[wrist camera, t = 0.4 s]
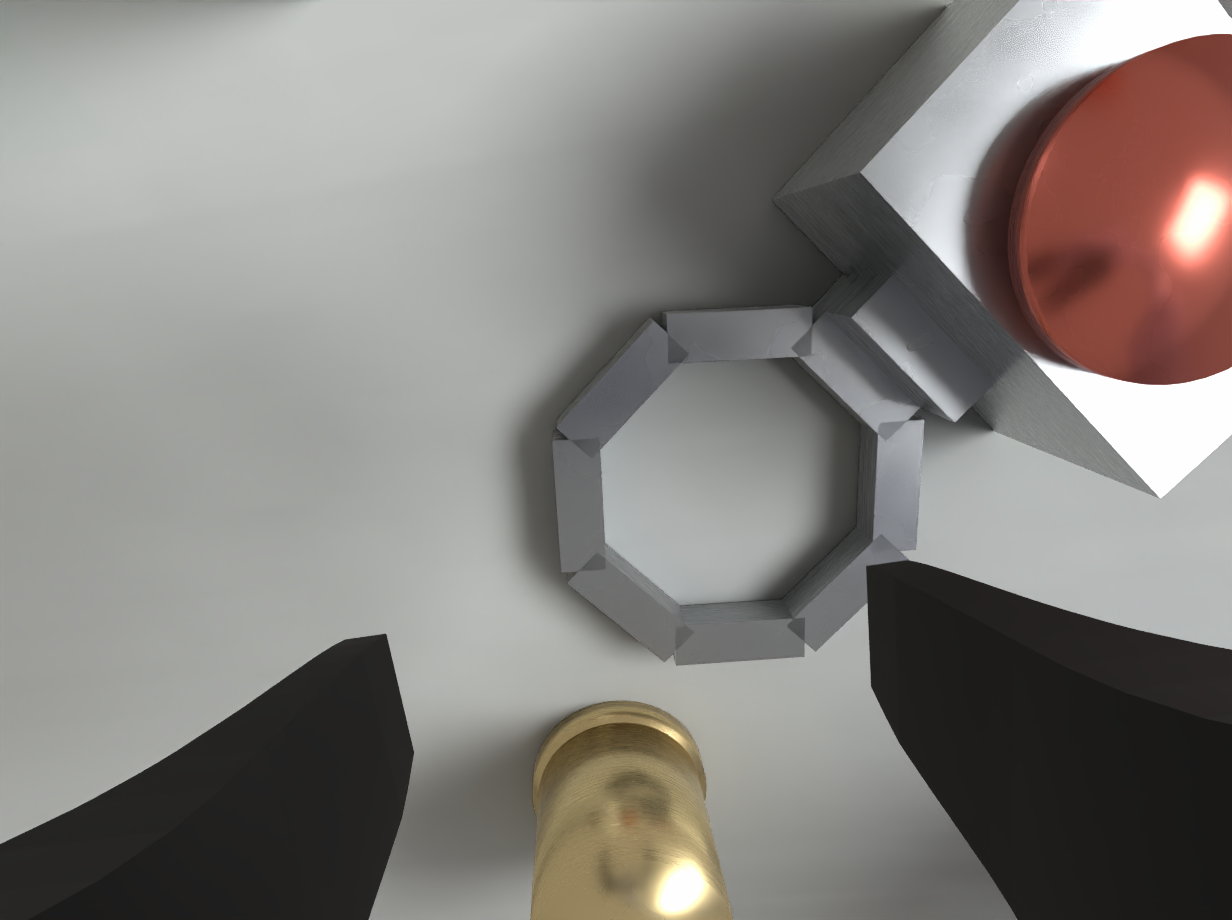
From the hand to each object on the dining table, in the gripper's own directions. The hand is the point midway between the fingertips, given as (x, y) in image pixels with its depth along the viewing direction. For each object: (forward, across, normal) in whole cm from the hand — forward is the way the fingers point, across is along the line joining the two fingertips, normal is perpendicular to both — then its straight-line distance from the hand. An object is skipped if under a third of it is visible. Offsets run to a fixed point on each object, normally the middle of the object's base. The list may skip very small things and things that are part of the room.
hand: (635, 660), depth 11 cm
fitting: (+10, +1, +10) cm, 14 cm away
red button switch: (+10, -7, -3) cm, 12 cm away
